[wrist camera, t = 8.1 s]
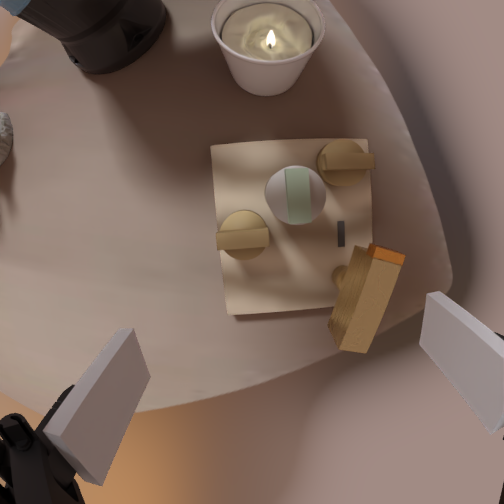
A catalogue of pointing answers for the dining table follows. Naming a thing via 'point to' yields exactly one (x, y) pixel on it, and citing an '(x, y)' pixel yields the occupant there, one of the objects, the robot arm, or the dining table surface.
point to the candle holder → (267, 41)
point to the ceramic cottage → (5, 136)
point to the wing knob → (363, 295)
